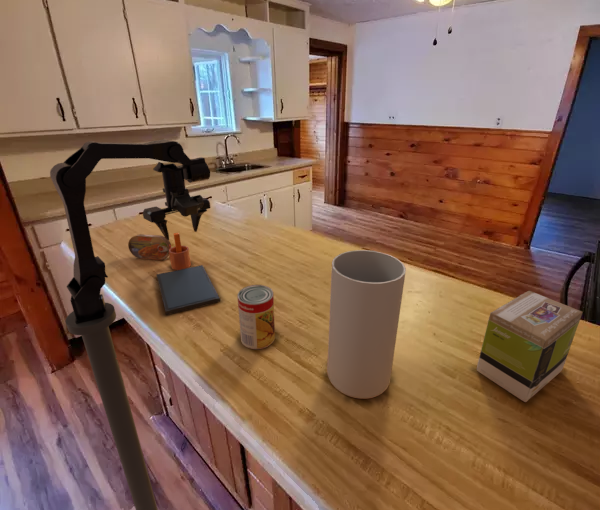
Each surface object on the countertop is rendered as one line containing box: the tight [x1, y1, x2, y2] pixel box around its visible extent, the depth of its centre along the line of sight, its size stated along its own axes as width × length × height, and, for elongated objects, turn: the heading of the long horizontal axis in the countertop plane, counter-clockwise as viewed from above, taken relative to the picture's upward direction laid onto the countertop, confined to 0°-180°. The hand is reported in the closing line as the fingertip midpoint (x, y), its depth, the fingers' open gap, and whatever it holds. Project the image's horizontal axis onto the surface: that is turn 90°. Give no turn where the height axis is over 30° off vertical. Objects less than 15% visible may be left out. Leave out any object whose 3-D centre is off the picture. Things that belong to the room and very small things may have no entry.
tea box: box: [476, 290, 584, 403], centre depth 66 cm, size 15×10×15 cm
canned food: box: [236, 284, 276, 350], centre depth 76 cm, size 8×8×12 cm
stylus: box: [173, 232, 182, 253], centre depth 109 cm, size 2×2×11 cm
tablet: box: [156, 264, 221, 316], centre depth 98 cm, size 14×22×1 cm, turn 27°
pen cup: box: [169, 245, 192, 271], centre depth 111 cm, size 6×6×6 cm
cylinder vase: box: [326, 249, 407, 400], centre depth 63 cm, size 12×12×25 cm
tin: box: [127, 233, 172, 261], centre depth 116 cm, size 15×3×8 cm, turn 81°
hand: (182, 235), depth 103 cm, fingers open, 9 cm apart
